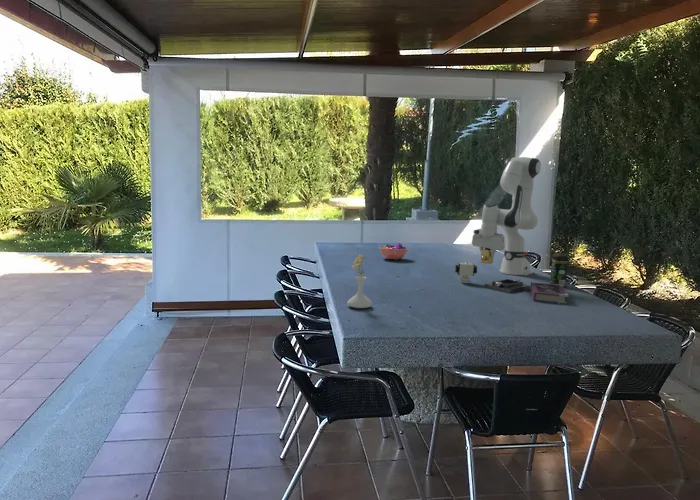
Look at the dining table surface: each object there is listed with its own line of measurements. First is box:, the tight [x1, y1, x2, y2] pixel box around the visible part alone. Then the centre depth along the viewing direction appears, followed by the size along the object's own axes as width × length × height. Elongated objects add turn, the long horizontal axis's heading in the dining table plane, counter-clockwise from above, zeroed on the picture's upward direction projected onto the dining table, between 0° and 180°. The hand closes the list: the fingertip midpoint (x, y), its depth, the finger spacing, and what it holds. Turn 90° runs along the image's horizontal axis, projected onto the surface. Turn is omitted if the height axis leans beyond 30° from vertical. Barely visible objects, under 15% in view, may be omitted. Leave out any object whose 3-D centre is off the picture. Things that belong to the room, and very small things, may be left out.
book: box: [529, 281, 569, 304], centre depth 299 cm, size 25×16×5 cm, turn 166°
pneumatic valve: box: [454, 261, 478, 284], centre depth 326 cm, size 6×12×12 cm, turn 87°
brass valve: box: [480, 248, 495, 265], centre depth 332 cm, size 9×5×11 cm, turn 131°
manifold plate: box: [483, 277, 531, 294], centre depth 316 cm, size 20×16×4 cm
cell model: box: [379, 242, 410, 261], centre depth 392 cm, size 17×20×11 cm
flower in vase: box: [346, 253, 373, 309], centre depth 260 cm, size 13×11×25 cm
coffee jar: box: [549, 252, 569, 288], centre depth 327 cm, size 10×8×19 cm
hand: (487, 255), depth 332 cm, fingers closed on brass valve, 5 cm apart
